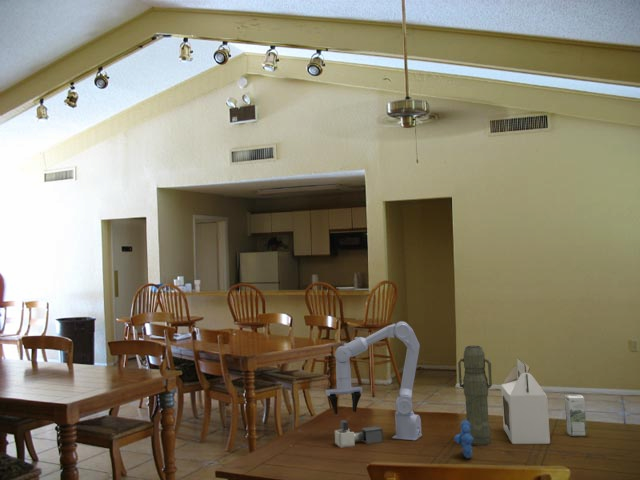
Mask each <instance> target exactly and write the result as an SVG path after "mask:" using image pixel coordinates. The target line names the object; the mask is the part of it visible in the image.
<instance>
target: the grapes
mask: <svg viewBox="0 0 640 480" xmlns="http://www.w3.org/2000/svg"><path fill="white" fill-rule="evenodd" d="M470 425H471V424H470V423H469V422H468V421H467V419H463V420H462V422H461V423H460V429H461V430H460V431H459V433H457V434H455V436H454V437H453V440H454V442H456V444H458V445H460V446H461V448H462V451H461V452H462V454H463V456H464V457H465V458H466V459H470V458H471V457H472V455H473V451H472V450H473V449H474V448H473V445H471V442H472V441H473V439H474V438H473V437H472V436H471V434H470V431H471V428H470Z"/></svg>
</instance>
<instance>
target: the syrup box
mask: <svg viewBox="0 0 640 480" xmlns="http://www.w3.org/2000/svg"><path fill="white" fill-rule="evenodd" d="M585 401H586V399H585V397H584V396H583V395H581V394H564V405H565V422H566V425H565V426H566V433H567V435H569V436H570V437H587V436H588V435H587V422H586V421H587V420H586V419H587V418H586V402H585Z"/></svg>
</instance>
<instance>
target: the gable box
mask: <svg viewBox="0 0 640 480" xmlns="http://www.w3.org/2000/svg"><path fill="white" fill-rule="evenodd" d="M516 360H517V361H516V362H517V363H516V364H517V365H514V366H513V367H511V370H510V371H509V372H508V374H507V376H506V378H505V379H504V381H503V382H502V383H501V385H500V386H501V403H502V422H503V423H502V424H503V430H504V433H506V435H507V437H508V439H509V440H510V443H511V444H512V445H524V444H525V445H546V444H547V445H549V444H551V437H550V421H549V420H550V419H549V405H548V394H547V393H546V392H545V391H544V390H543V388H542V387H541V386H540V384H539V383H538V381H537V380H536V379H535V377H534V376H533V375H532V374H531V373H530V370H531V367H530V366H529V365H528V364H526V363H525V362H524V361H523V360H521V359H520V358H517V359H516Z"/></svg>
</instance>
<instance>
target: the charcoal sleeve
mask: <svg viewBox="0 0 640 480" xmlns="http://www.w3.org/2000/svg"><path fill="white" fill-rule="evenodd" d="M361 432H363V433H364V440H361V441H362V442H364V443H365V444H366V445H367V444H369V445H370V444H376V443H383V442H384V440H383V439H384V438H383V437H384V435H383V428H382V427H380V426H379V425H377V426H376V425H375V426H368V427H361Z"/></svg>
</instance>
